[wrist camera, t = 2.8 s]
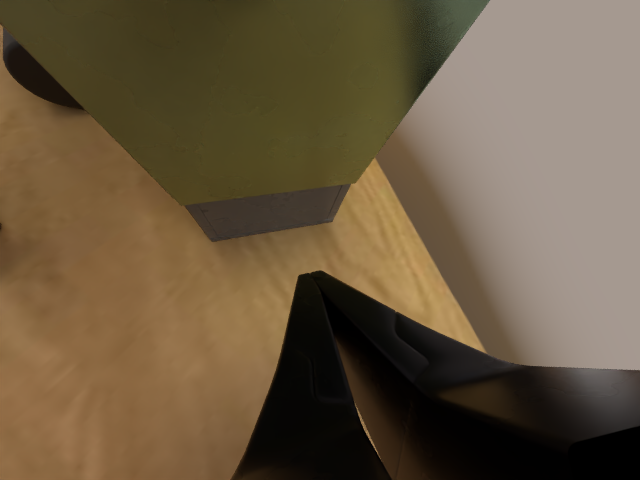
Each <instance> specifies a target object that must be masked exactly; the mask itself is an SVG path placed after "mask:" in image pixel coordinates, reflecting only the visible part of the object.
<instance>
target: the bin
mask: <svg viewBox="0 0 640 480" xmlns="http://www.w3.org/2000/svg"><path fill="white" fill-rule="evenodd" d="M350 185H351V184H345V185H337V186H330V187H322V188H314V189H307V190H299V191H291V192H283V193H276V194H268V195H260V196H252V197H245V198H237V199H229V200H221V201H214V202H206V203H198V204H190V205H184V206H185V207H186V208H187V210H188V211H189V212H190V214H191V215H192V216H193V218H194V219H195V220H196V222H197V223H198V224H199V226H200V227H201V228H202V230H203V231H204V232H205V234H206V235H207V236H208V238H209V239H210V240H211V241H212V242H213V241H219V240H225V239H231V238H237V237H243V236H249V235H255V234H261V233H268V232H274V231H280V230H286V229H292V228H298V227H304V226H310V225H316V224H322V223H328V222H332V221H333V219H334V217H335V215H336V213H337V211H338V209H339V207H340V205H341V203H342V201H343V199H344V197H345V195H346V193H347V191H348V189H349V187H350Z"/></svg>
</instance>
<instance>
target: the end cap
mask: <svg viewBox="0 0 640 480" xmlns="http://www.w3.org/2000/svg"><path fill="white" fill-rule="evenodd" d="M3 60H4V63H5V66H6V68H7V70H8V71H9V73H10V74H11V75H12V76H13V78H14V79H15V80H16V81H17V82H18V83H19V84H21V85H22V86H23V87H24V88H26V89H27V90H29V91H30V92H32V93H33V94H35V95H37V96H39V97H41V98H43V99H45V100H47V101H50V102H52V103H56V104H59V105H63V106H68V107H76V108H80V109H84V108H83V107H82V106H81V105H80V104H79V103H78V102H77V101H76V100H75V99H74V98H73V97H72V96H71V95H70V94H69V93H68V92H67V91H66V90H65V89H64V88H63V87H62V86H61V85H60V84H59V83H58V82H57V81H56V80H55V79H54V78H53V77H52V76H51V75H50V74H49V73H48V72H47V71H46V70H45V69H44V68H43V67H42V66H41V65H40V64H39V63H38V62H37V61H36V60H35V59H34V58H33V57H32V56H31V55H30V54H29V53H28V52H27V51H26V50H25V49H24V48H23V47H22V46H21V45H20V44H19V43H18V42H17V41H16V40H15V39H14V38H13V37H12V36H11V35H10V34H9V33H8V32H7V31H6V30H5V29H4V28H3Z"/></svg>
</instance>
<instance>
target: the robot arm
mask: <svg viewBox="0 0 640 480" xmlns="http://www.w3.org/2000/svg"><path fill="white" fill-rule="evenodd" d="M354 401H355V402H354ZM355 403H356V406H357V408H358V410H359V412H360V414H361V417H362V419H363V421H364V423H365V425H366V428H367V430H368V432H369V434H370V436H371V439H372V441H373V443H374V445H375V447H376V450H377V452H378V454H379V456H380V458H381V459H380V458H379V456H378V454H377V452H376V451H375V449H374V447H373V445H372V444H371V442H370V440H369V438H368V437H367V435H366V433H365V431H364V429H363V426H362V424H361V421H360V418H359V415H358V412H357V409H356V406H355ZM381 460H382V461H381ZM231 480H640V370H617V369H592V368H565V367H542V366H526V365H519V364H514V363H509V362H506V361H503V360H500V359H497V358H495V357H492V356H490V355H488V354H485V353H483V352H481V351H479V350H476V349H474V348H472V347H470V346H467V345H465V344H463V343H461V342H458V341H456V340H454V339H452V338H449V337H447V336H445V335H443V334H440V333H438V332H436V331H434V330H432V329H430V328H428V327H425V326H423V325H421V324H419V323H417V322H416V321H414V320H412V319H410V318H408V317H406V316H404V315H402V314H400V313H399V312H396V313H395V310H393V309H391V308H389V307H387V306H386V305H384V304H382V303H380V302H378V301H376V300H375V299H373V298H371V297H369V296H367V295H365V294H364V293H362V292H360V291H358V290H356V289H355V288H353V287H351V286H349V285H347V284H345V283H344V282H342V281H340V280H338V279H336V278H334V277H333V276H331V275H329V274H327V273H325V272H323V271H315V272H311V274H310V273H306V274H301V275H299V276H298V279H297V283H296V288H295V292H294V297H293V301H292V305H291V310H290V314H289V319H288V323H287V328H286V332H285V336H284V341H283V344H282V349H281V353H280V357H279V361H278V364H277V368H276V371H275V374H274V377H273V380H272V383H271V386H270V389H269V391H268V394H267V396H266V399H265V402H264V404H263V407H262V409H261V412H260V415H259V417H258V420H257V422H256V425H255V428H254V430H253V433H252V435H251V438H250V441H249V443H248V445H247V448H246V450H245V453H244V455H243V457H242V459H241V461H240V463H239V465H238V467H237V469H236V471H235V473H234V475H233V476H232V478H231Z"/></svg>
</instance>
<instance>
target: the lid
mask: <svg viewBox="0 0 640 480" xmlns="http://www.w3.org/2000/svg"><path fill="white" fill-rule="evenodd" d="M489 1H490V0H0V24H1V25H2V26H3V28H4V29H5V30H6V31H7V32H8V33H9V34H10V35H11V36H12V37H13V38H14V39H15V40H16V41H17V42H18V43H19V44H20V45H21V46H22V47H23V48H24V49H25V50H26V51H27V52H28V53H29V54H30V55H31V56H32V57H33V58H34V59H35V60H36V61H37V62H38V63H39V64H40V65H41V66H42V67H43V68H44V69H45V70H46V71H47V72H48V73H49V74H50V75H51V76H52V77H53V78H54V79H55V80H56V81H57V82H58V83H59V84H60V85H61V86H62V87H63V88H64V89H65V90H66V91H67V92H68V93H69V94H70V95H71V96H72V97H73V98H74V99H75V100H76V101H77V102H78V103H79V104H80V105H81V106H82V107H83V108H84V109H85V110H86V111H87V112H88V113H89V114H90V115H91V116H92V117H93V118H94V119H95V120H96V121H97V122H98V123H99V124H100V125H101V126H102V127H103V128H104V129H105V130H106V131H107V132H108V133H109V134H110V135H111V136H112V137H113V138H114V139H115V140H116V141H117V142H118V143H119V144H120V145H121V146H122V147H123V148H124V149H125V150H126V151H127V152H128V153H129V154H130V155H131V156H132V157H133V158H134V159H135V160H136V161H137V162H138V163H139V164H140V165H141V166H142V167H143V168H144V169H145V170H146V171H147V172H148V173H149V174H150V175H151V176H152V177H153V178H154V179H155V180H156V181H157V182H158V183H159V184H160V185H161V186H162V187H163V188H164V189H165V190H166V191H167V192H168V193H169V194H170V195H171V196H172V197H173V198H174V199H175V200H176V201H177V202H178V203H179V204H180V205H181V206H183V205H190V204H198V203H206V202H214V201H221V200H229V199H237V198H245V197H252V196H260V195H268V194H276V193H283V192H291V191H299V190H307V189H314V188H322V187H330V186H337V185H345V184H353V183H356V182H357V181H358V179H359V178H360V177H361V175H362V174H363V172H364V171H365V170H366V168H367V167H368V166H369V164H370V163H371V162H372V160H373V159H374V158H375V156H376V155H377V153H378V152H379V151H380V149H381V148H382V147H383V145H384V144H385V143H386V141H387V140H388V138H389V137H390V136H391V134H392V133H393V132H394V130H395V129H396V127H397V126H398V125H399V124H400V122H401V121H402V119H403V118H404V117H405V115H406V114H407V113H408V111H409V110H410V109H411V107H412V106H413V104H414V103H415V102H416V100H417V99H418V98H419V96H420V95H421V94H422V92H423V91H424V89H425V88H426V87H427V85H428V84H429V83H430V81H431V80H432V79H433V77H434V76H435V75H436V73H437V72H438V70H439V69H440V68H441V66H442V65H443V63H444V62H445V61H446V59H447V58H448V57H449V55H450V54H451V53H452V51H453V50H454V49H455V47H456V46H457V45H458V43H459V42H460V41H461V39H462V38H463V36H464V35H465V34H466V32H467V31H468V30H469V28H470V27H471V25H472V24H473V23H474V22H475V20H476V19H477V17H478V16H479V15H480V13H481V12H482V11H483V9H484V8H485V7H486V5H487V4H488V2H489Z"/></svg>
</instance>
